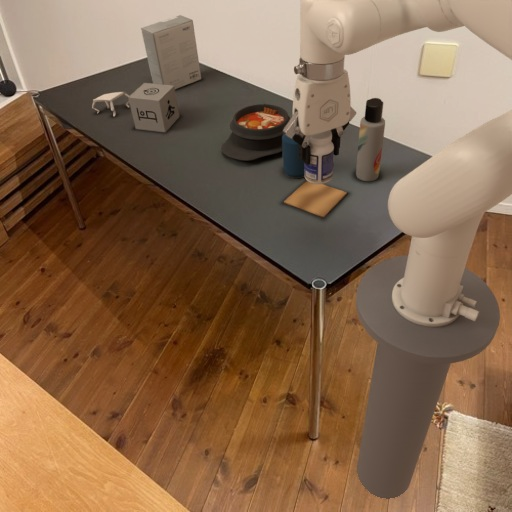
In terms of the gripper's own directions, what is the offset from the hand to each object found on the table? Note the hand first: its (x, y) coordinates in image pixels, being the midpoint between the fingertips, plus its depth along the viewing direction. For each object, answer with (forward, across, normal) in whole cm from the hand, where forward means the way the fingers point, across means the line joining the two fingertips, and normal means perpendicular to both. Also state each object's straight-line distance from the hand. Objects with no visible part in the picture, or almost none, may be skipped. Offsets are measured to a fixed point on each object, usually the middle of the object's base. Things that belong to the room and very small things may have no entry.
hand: (319, 156), depth 100 cm
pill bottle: (+5, 0, 0) cm, 5 cm away
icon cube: (+20, -16, +68) cm, 73 cm away
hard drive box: (+20, -1, +92) cm, 94 cm away
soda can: (+20, +8, +23) cm, 31 cm away
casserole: (+20, +6, +40) cm, 46 cm away
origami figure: (+20, -25, +84) cm, 90 cm away
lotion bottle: (+20, +22, +13) cm, 32 cm away
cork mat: (+20, +6, +11) cm, 23 cm away
